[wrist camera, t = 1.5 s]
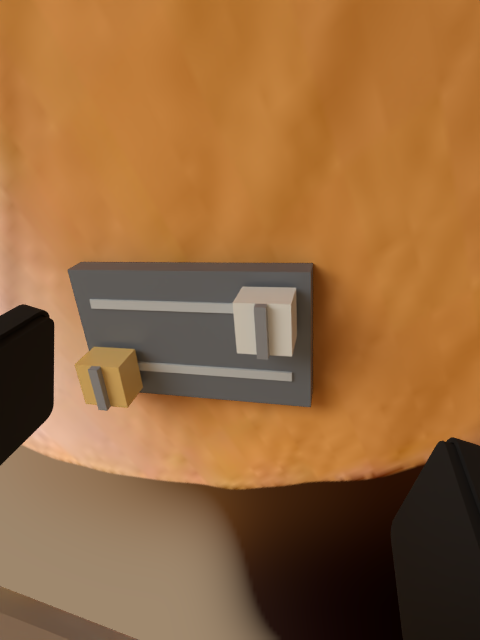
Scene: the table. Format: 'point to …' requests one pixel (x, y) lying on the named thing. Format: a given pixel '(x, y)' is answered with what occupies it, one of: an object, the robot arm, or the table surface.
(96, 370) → the amber fader
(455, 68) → the table surface
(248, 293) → the white fader
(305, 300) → the mixer console
